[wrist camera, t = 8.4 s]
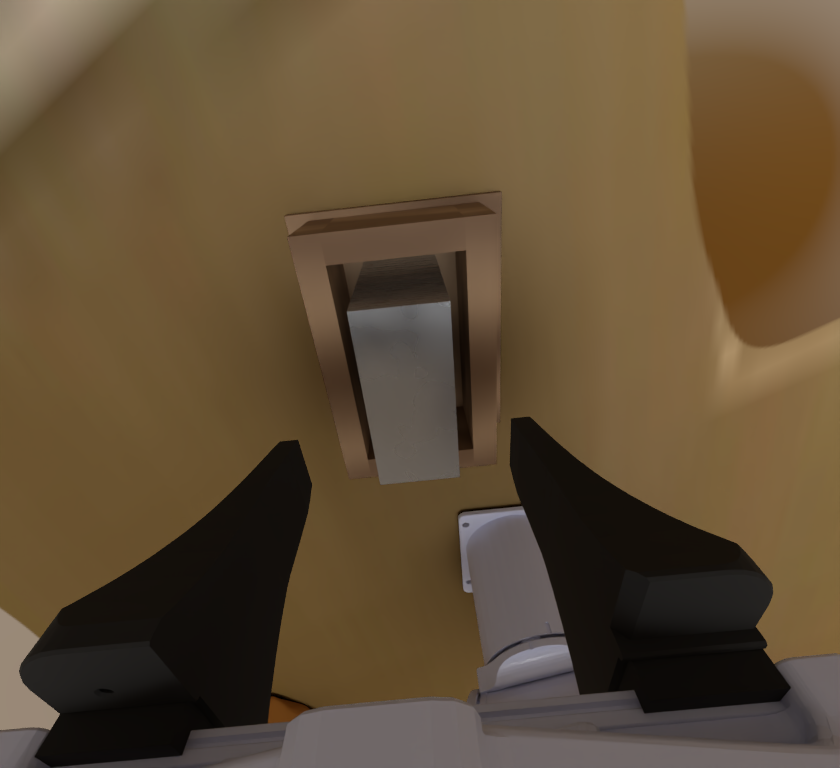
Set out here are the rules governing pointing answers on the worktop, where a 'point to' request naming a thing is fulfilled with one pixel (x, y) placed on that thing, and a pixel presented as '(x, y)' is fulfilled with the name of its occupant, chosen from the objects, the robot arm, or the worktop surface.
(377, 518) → the worktop surface
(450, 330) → the silver metal block
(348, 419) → the brown rectangular frame
